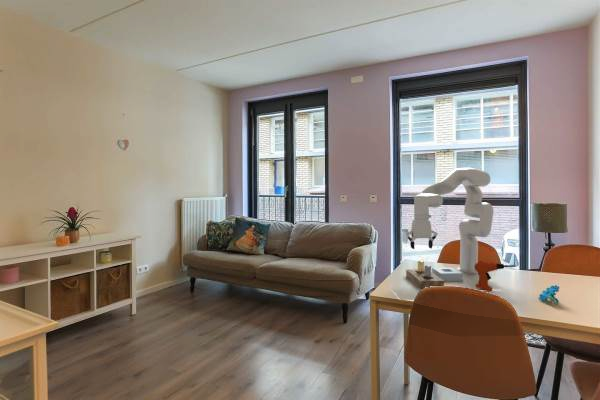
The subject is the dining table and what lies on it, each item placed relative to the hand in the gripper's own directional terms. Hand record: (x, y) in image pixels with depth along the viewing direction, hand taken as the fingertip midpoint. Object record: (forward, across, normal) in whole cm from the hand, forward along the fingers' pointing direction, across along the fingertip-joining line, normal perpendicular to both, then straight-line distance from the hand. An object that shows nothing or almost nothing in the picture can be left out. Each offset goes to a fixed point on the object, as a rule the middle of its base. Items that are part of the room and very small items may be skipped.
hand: (421, 248), depth 189 cm
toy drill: (+19, -30, +17) cm, 40 cm away
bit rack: (+18, +1, +5) cm, 19 cm away
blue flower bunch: (+19, -46, +33) cm, 60 cm away
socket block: (+19, -15, -3) cm, 24 cm away
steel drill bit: (+17, +1, +10) cm, 20 cm away
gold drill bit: (+17, +1, 0) cm, 17 cm away
